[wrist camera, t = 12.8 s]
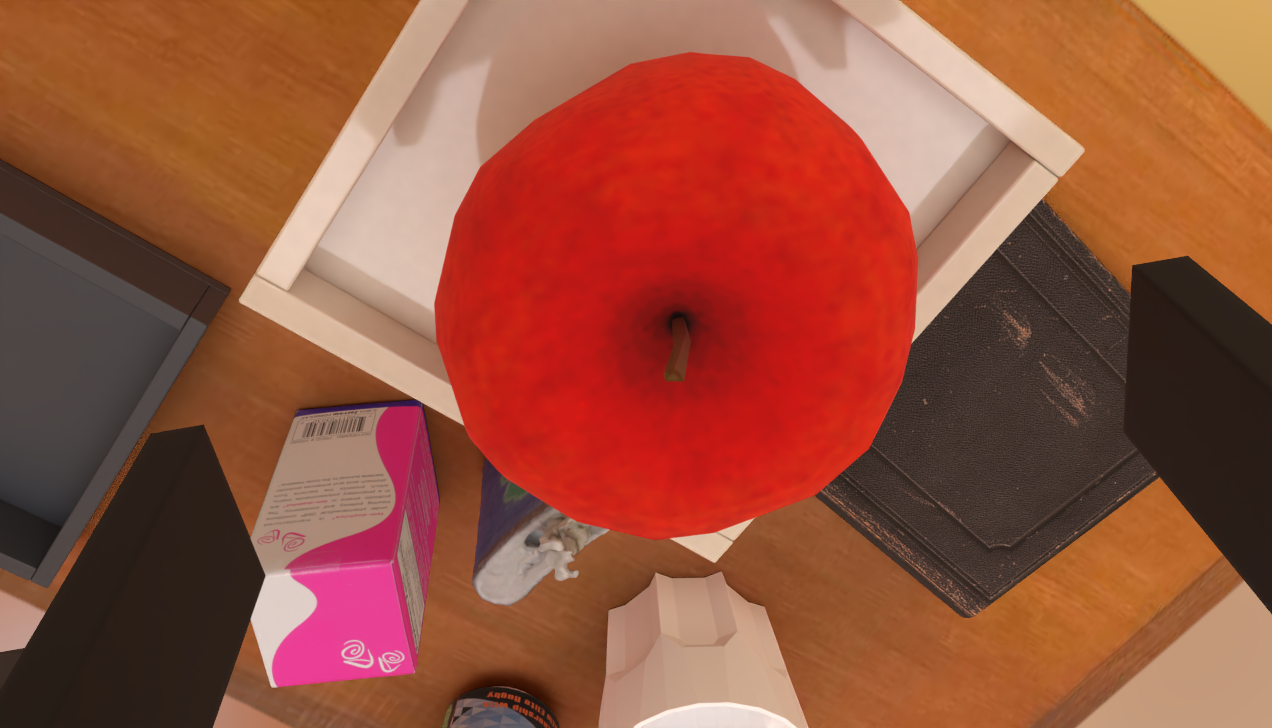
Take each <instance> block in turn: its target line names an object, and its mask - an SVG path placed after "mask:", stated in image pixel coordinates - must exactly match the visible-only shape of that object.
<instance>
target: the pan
mask: <svg viewBox="0 0 1272 728" xmlns="http://www.w3.org/2000/svg"><path fill="white" fill-rule="evenodd" d="M230 291H231V289H230V288H228V287H226V286H224V285H223V284H221V283H219V282H217V281H216V280H214V279H212V278H210V277H208V276H207V275H205V274H203V273H201V272H200V271H198V270H196V269H194V268H192V267H191V266H189V265H187V264H185V263H183V262H182V261H180V260H178V259H176V258H175V257H173V256H171V255H169V254H167V253H166V252H164V251H162V250H160V249H159V248H157V247H155V246H153V245H151V244H150V243H148V242H146V241H144V240H142V239H141V238H139V237H137V236H135V235H134V234H132V233H130V232H128V231H126V230H125V229H123V228H121V227H119V226H117V225H116V224H114V223H112V222H110V221H109V220H107V219H105V218H103V217H101V216H100V215H98V214H96V213H94V212H93V211H91V210H89V209H87V208H85V207H84V206H82V205H80V204H78V203H76V202H75V201H73V200H71V199H69V198H68V197H66V196H64V195H62V194H60V193H59V192H57V191H55V190H53V189H52V188H50V187H48V186H46V185H44V184H43V183H41V182H39V181H37V180H35V179H34V178H32V177H30V176H28V175H27V174H25V173H23V172H21V171H19V170H18V169H16V168H14V167H12V166H11V165H9V164H7V163H5V162H3V161H2V160H0V568H1V569H4V570H6V571H8V572H10V573H13V574H15V575H17V576H19V577H22V578H24V579H26V580H31V581H32V582H34V583H36V584H38V585H40V586H43V587H45V588H48V587H49V586H50V584H51V582H52V581H53V579H54V578H55V576H56V574H57V573H58V571H59V569H60V568H61V566H62V564H63V563H64V561H65V560H66V558H67V556H68V555H69V553H70V551H71V550H72V548H73V547H74V545H75V543H76V542H77V540H78V538H79V537H80V535H81V534H82V532H83V530H84V529H85V527H86V525H87V524H88V522H89V521H90V519H91V517H92V516H93V514H94V512H95V511H96V509H97V508H98V506H99V504H100V503H101V501H102V499H103V498H104V496H105V494H106V493H107V491H108V490H109V488H110V486H111V485H112V483H113V481H114V480H115V478H116V477H117V475H118V473H119V472H120V470H121V468H122V467H123V465H124V464H125V462H126V460H127V459H128V457H129V455H130V454H131V452H132V451H133V449H134V447H135V446H136V444H137V442H138V441H139V439H140V437H141V436H142V434H143V433H144V431H145V429H146V428H147V426H148V424H149V423H150V421H151V420H152V418H153V416H154V415H155V413H156V411H157V410H158V408H159V407H160V405H161V403H162V402H163V400H164V398H165V397H166V395H167V394H168V392H169V390H170V389H171V387H172V385H173V384H174V382H175V381H176V379H177V377H178V376H179V374H180V372H181V371H182V369H183V367H184V366H185V364H186V363H187V361H188V359H189V358H190V356H191V354H192V353H193V351H194V350H195V348H196V346H197V345H198V343H199V341H200V340H201V338H202V337H203V335H204V333H205V332H206V330H207V328H208V327H209V325H210V324H211V322H212V320H213V319H214V317H215V315H216V314H217V312H218V310H219V309H220V307H221V306H222V304H223V302H224V301H225V299H226V297H227V296H228V294H229V292H230Z"/></svg>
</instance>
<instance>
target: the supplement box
mask: <svg viewBox="0 0 1272 728" xmlns="http://www.w3.org/2000/svg"><path fill="white" fill-rule="evenodd" d="M439 504H440V498H439V492H438V486H437V481H436V475H435V469H434V463H433V457H432V451H431V445H430V440H429V434H428V428H427V423H426V418H425V413H424V408H423V404H422V402H420V401H418V400H407V401H396V402H384V403H371V404H361V405H350V406H339V407H328V408H317V409H303V410H297V411H296V414H295V417H294V419H293V422H292V424H291V427H290V430H289V433H288V436H287V438H286V441H285V444H284V446H283V449H282V452H281V455H280V457H279V460H278V463H277V466H276V469H275V471H274V474H273V477H272V480H271V483H270V485H269V488H268V491H267V494H266V497H265V499H264V502H263V505H262V508H261V511H260V513H259V516H258V519H257V521H256V524H255V527H254V530H253V532H252V535H251V538H250V539H251V541H252V543H253V546H254V548H255V551H256V553H257V556H258V558H259V560H260V563H261V565H262V568H263V570H264V573H265V575H266V577H265V579H264V582H263V585H262V588H261V591H260V594H259V597H258V599H257V602H256V605H255V608H254V611H253V614H252V617H251V619H250V620H251V623H252V626H253V629H254V632H255V635H256V638H257V641H258V645H259V648H260V651H261V655H262V658H263V661H264V665H265V668H266V672H267V675H268V678H269V681H270V685H271V687H273V688H274V687H281V686H292V685H302V684H313V683H322V682H332V681H342V680H352V679H362V678H372V677H382V676H393V675H403V674H413V673H415V671H416V666H417V660H418V653H419V647H420V640H421V632H422V625H423V618H424V611H425V604H426V597H427V589H428V582H429V574H430V567H431V560H432V553H433V547H434V539H435V532H436V525H437V518H438V511H439Z"/></svg>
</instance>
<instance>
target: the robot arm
mask: <svg viewBox="0 0 1272 728" xmlns="http://www.w3.org/2000/svg"><path fill="white" fill-rule="evenodd" d="M1123 432H1124V434H1125V435H1126V436H1127V437H1128V438H1129V440H1130V441H1131V442H1132V443H1133V445H1134V446H1135V447H1136V448H1137V449H1138V451H1139V452H1140V453H1141V454H1142V456H1143V457H1144V458H1145V459H1146V461H1147V462H1148V463H1149V464H1150V465H1151V467H1152V468H1153V469H1154V470H1155V472H1156V473H1157V474H1158V475H1159V476H1160V478H1161V479H1162V480H1163V481H1164V483H1165V484H1166V485H1167V486H1168V487H1169V489H1170V490H1171V491H1172V492H1173V494H1174V495H1175V496H1176V497H1177V499H1178V500H1179V501H1180V502H1181V503H1182V505H1183V506H1184V507H1185V508H1186V510H1187V511H1188V512H1189V513H1190V514H1191V516H1192V517H1193V518H1194V519H1195V521H1196V522H1197V523H1198V524H1199V525H1200V527H1201V528H1202V529H1203V530H1204V532H1205V533H1206V534H1207V535H1208V537H1209V538H1210V539H1211V540H1212V541H1213V543H1214V544H1215V545H1216V546H1217V548H1218V549H1219V550H1220V551H1221V552H1222V554H1223V555H1224V556H1225V557H1226V559H1227V560H1228V561H1229V562H1230V563H1231V565H1232V566H1233V567H1234V568H1235V570H1236V571H1237V572H1238V573H1239V574H1240V576H1241V577H1242V578H1243V579H1244V581H1245V582H1246V583H1247V584H1248V585H1249V587H1250V588H1251V589H1252V590H1253V592H1254V593H1255V594H1256V595H1257V597H1258V598H1259V599H1260V600H1261V601H1262V603H1263V604H1264V605H1265V606H1266V608H1267V609H1268V610H1269V611H1270V612H1271V614H1272V325H1271V324H1270V323H1269V322H1268V321H1267V320H1265V319H1264V318H1263V317H1262V316H1260V315H1259V314H1258V313H1257V312H1256V311H1254V310H1253V309H1252V308H1251V307H1250V306H1248V305H1247V304H1246V303H1245V302H1243V301H1242V300H1241V299H1240V298H1239V297H1237V296H1236V295H1235V294H1234V293H1232V292H1231V291H1230V290H1229V289H1228V288H1226V287H1225V286H1224V285H1223V284H1221V283H1220V282H1219V281H1218V280H1217V279H1215V278H1214V277H1213V276H1212V275H1210V274H1209V273H1208V272H1207V271H1206V270H1204V269H1203V268H1202V267H1201V266H1200V265H1198V264H1197V263H1196V262H1195V261H1193V260H1192V259H1191V258H1190V257H1189V256H1184V257H1178V258H1173V259H1167V260H1161V261H1155V262H1149V263H1143V264H1138V265H1132V281H1131V299H1130V317H1129V335H1128V353H1127V371H1126V388H1125V406H1124V424H1123ZM265 577H266V575H265V573H264V570H263V568H262V565H261V563H260V560H259V558H258V556H257V553H256V551H255V548H254V546H253V543H252V541H251V539H250V536H249V534H248V531H247V529H246V526H245V524H244V522H243V519H242V517H241V514H240V512H239V509H238V507H237V505H236V502H235V500H234V497H233V495H232V492H231V490H230V487H229V485H228V483H227V480H226V478H225V475H224V473H223V470H222V468H221V466H220V463H219V461H218V458H217V456H216V453H215V451H214V449H213V446H212V444H211V441H210V439H209V436H208V434H207V432H206V429H205V427H204V425H200V426H194V427H188V428H182V429H176V430H171V431H165V432H159V433H153V434H150V436H149V438H148V439H147V441H146V443H145V445H144V446H143V448H142V450H141V451H140V453H139V455H138V456H137V458H136V460H135V462H134V463H133V465H132V467H131V468H130V470H129V472H128V473H127V475H126V477H125V479H124V480H123V482H122V484H121V485H120V487H119V489H118V490H117V492H116V494H115V496H114V497H113V499H112V501H111V502H110V504H109V506H108V507H107V509H106V511H105V513H104V514H103V516H102V518H101V519H100V521H99V523H98V525H97V526H96V528H95V530H94V531H93V533H92V535H91V536H90V538H89V540H88V542H87V543H86V545H85V547H84V548H83V550H82V552H81V553H80V555H79V557H78V559H77V560H76V562H75V564H74V565H73V567H72V569H71V570H70V572H69V574H68V576H67V577H66V579H65V581H64V582H63V584H62V586H61V587H60V589H59V591H58V593H57V594H56V596H55V598H54V599H53V601H52V603H51V604H50V606H49V608H48V610H47V611H46V613H45V615H44V617H43V618H42V620H41V622H40V623H39V625H38V627H37V629H36V630H35V632H34V633H33V635H32V637H31V639H30V640H29V642H28V644H27V645H26V647H25V648H23V649H17V650H11V651H5V652H0V728H213V725H214V722H215V719H216V717H217V714H218V711H219V707H220V705H221V702H222V699H223V697H224V694H225V691H226V688H227V685H228V682H229V679H230V677H231V674H232V671H233V668H234V665H235V662H236V659H237V657H238V654H239V651H240V648H241V645H242V642H243V639H244V637H245V634H246V631H247V628H248V625H249V622H250V619H251V617H252V614H253V611H254V608H255V605H256V602H257V599H258V597H259V594H260V591H261V588H262V585H263V582H264V579H265Z"/></svg>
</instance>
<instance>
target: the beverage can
mask: <svg viewBox="0 0 1272 728" xmlns="http://www.w3.org/2000/svg"><path fill="white" fill-rule="evenodd" d="M442 728H560V727H559V723H558V721H557V719H556V717H555V715H554V714H553V712H552V711H551V710H550V709H549V708H548V707H547V706H546V705H545V704H544V703H543V702H541V701H540V700H538V699H537V698H535V697H533V696H531V695H530V694H528V693H526V692H524V691H521V690H518V689H515V688H510V687H503V686H494V687H485V688H478V689H475V690H471V691H468V692H466V693H464V694H462V695H461V696H459V697H458V698H456V699H455V700H454V701H453V702H452V703H451V705H450V706H449V708H448V710H447V712H446V715H445V719H444V722H443V726H442Z"/></svg>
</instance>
